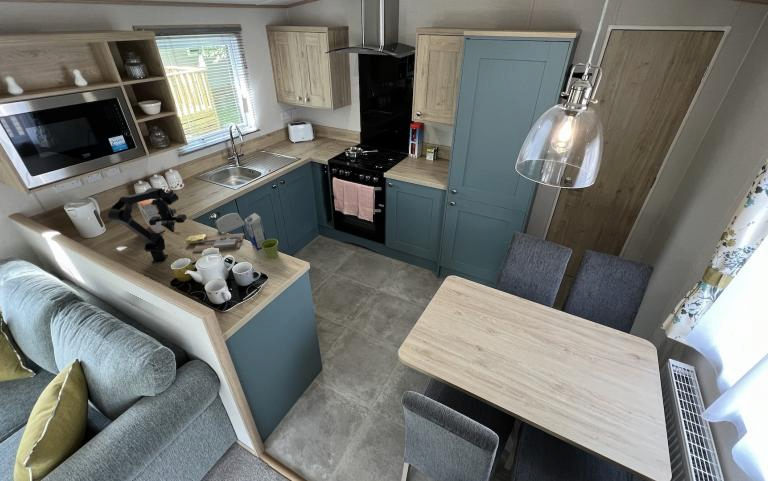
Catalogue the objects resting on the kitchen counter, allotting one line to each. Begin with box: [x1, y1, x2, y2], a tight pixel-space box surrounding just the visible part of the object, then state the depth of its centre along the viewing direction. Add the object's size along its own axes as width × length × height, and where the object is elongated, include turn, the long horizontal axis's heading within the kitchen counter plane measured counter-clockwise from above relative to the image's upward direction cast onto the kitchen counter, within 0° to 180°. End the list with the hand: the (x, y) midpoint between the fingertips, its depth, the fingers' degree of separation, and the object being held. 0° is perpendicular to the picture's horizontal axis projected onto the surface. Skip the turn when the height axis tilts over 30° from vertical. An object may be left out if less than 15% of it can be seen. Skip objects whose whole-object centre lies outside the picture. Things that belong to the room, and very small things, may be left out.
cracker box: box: [136, 199, 166, 234], centre depth 218 cm, size 14×6×21 cm, turn 49°
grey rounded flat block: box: [214, 212, 246, 235], centre depth 221 cm, size 17×5×10 cm, turn 138°
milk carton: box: [244, 212, 267, 251], centre depth 198 cm, size 7×7×20 cm
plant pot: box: [261, 238, 279, 260], centre depth 192 cm, size 9×9×9 cm
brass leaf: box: [185, 233, 207, 245], centre depth 208 cm, size 6×10×2 cm, turn 98°
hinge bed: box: [192, 233, 245, 254], centre depth 206 cm, size 16×26×4 cm, turn 98°
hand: (173, 232), depth 203 cm, fingers closed
